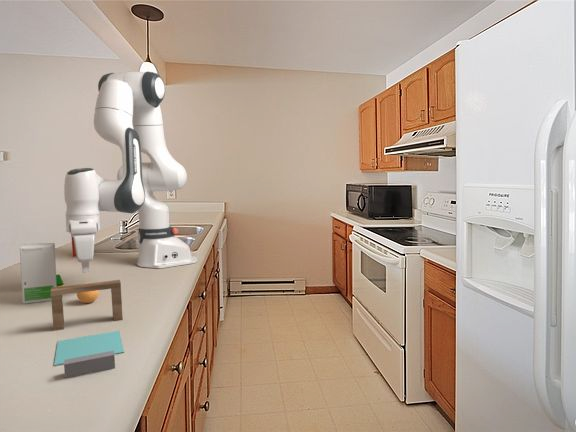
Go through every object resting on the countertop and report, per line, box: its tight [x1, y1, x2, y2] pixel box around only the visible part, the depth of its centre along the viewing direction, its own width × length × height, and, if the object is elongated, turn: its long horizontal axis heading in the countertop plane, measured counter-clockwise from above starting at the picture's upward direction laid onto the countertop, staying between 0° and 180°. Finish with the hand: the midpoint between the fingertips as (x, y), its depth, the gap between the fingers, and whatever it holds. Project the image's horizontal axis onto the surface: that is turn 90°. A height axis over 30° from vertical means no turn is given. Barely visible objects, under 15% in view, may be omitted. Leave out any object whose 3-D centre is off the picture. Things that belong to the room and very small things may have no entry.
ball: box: [76, 281, 100, 304], centre depth 111 cm, size 6×6×6 cm
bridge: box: [50, 279, 124, 331], centre depth 95 cm, size 3×14×9 cm, turn 117°
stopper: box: [63, 351, 116, 379], centre depth 73 cm, size 8×2×2 cm, turn 117°
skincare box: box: [19, 242, 57, 305], centre depth 114 cm, size 8×7×16 cm
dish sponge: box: [56, 274, 65, 287], centre depth 127 cm, size 7×14×2 cm, turn 34°
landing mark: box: [53, 330, 125, 367], centre depth 83 cm, size 12×12×1 cm
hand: (86, 272), depth 118 cm, fingers closed
